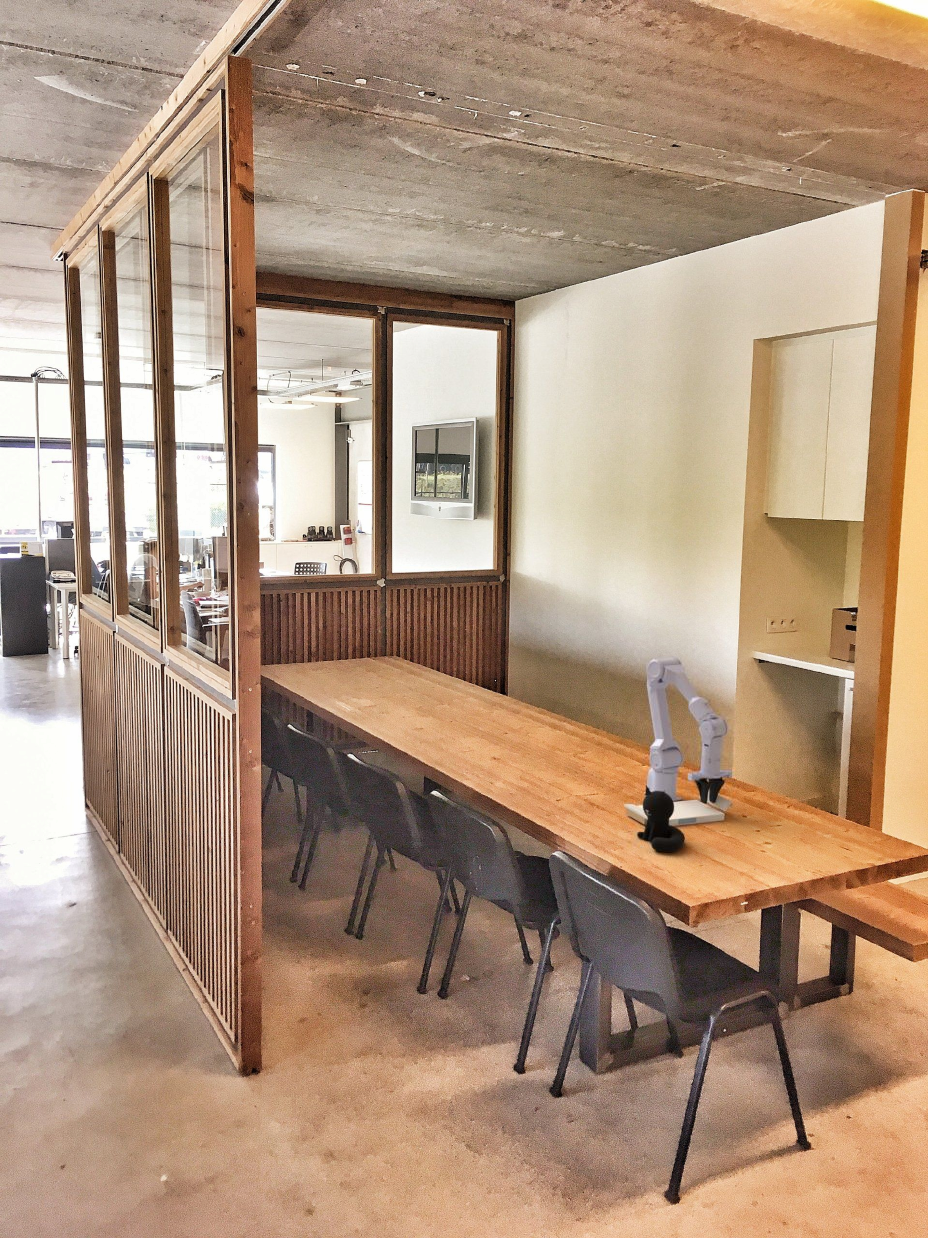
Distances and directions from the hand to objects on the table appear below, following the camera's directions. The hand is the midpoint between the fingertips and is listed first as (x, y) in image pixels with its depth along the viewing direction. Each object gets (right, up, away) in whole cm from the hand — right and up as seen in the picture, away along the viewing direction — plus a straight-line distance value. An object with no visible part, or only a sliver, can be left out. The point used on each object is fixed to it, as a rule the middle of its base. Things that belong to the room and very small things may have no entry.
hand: (708, 802), depth 304 cm
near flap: (-22, -1, -9) cm, 23 cm away
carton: (-10, -4, -3) cm, 11 cm away
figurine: (-19, -7, -27) cm, 34 cm away
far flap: (+2, +1, +1) cm, 2 cm away
